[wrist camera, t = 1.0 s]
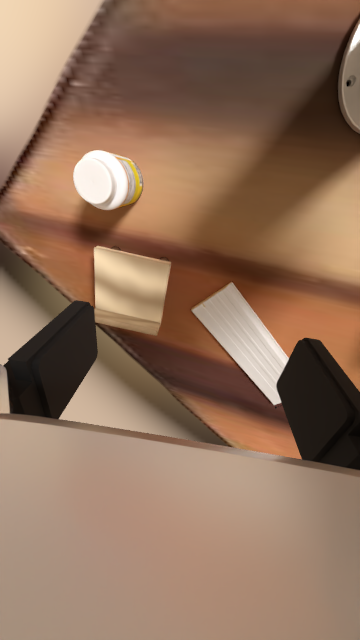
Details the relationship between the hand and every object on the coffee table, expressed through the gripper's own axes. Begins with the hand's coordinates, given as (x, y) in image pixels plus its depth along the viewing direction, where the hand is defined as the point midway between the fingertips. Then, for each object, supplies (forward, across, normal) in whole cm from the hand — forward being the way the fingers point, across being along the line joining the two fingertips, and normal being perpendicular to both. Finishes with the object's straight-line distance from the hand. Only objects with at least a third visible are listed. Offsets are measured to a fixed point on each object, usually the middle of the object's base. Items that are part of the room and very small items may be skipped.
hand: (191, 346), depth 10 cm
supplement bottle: (+27, +11, -6) cm, 30 cm away
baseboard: (+28, -15, +19) cm, 37 cm away
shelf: (+27, +9, +9) cm, 30 cm away
